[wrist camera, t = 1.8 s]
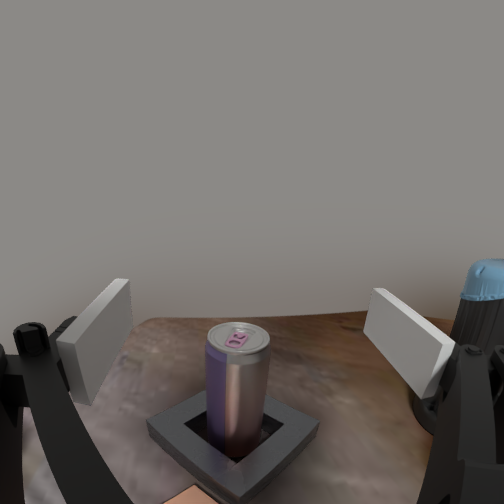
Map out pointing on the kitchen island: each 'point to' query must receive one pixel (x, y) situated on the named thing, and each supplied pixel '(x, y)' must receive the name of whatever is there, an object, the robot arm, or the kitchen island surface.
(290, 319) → the kitchen island surface
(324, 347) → the kitchen island surface
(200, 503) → the terracotta tile
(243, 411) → the beverage can
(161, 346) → the kitchen island surface
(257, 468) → the socket block
